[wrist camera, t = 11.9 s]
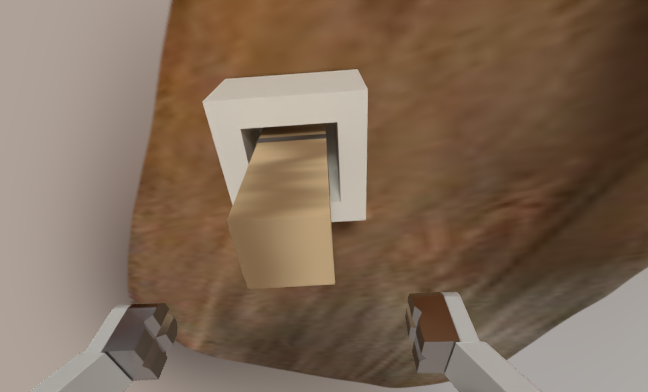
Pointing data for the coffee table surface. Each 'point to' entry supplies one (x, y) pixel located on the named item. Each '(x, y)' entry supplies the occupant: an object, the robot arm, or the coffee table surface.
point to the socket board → (296, 109)
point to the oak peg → (285, 210)
